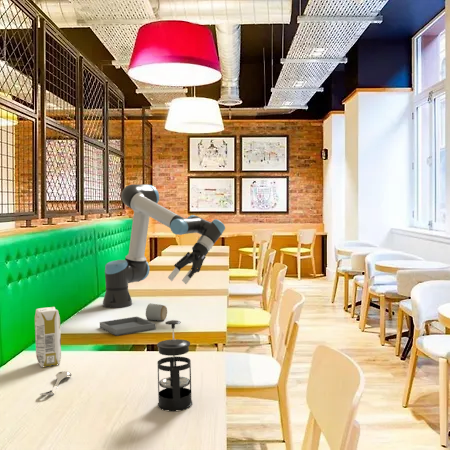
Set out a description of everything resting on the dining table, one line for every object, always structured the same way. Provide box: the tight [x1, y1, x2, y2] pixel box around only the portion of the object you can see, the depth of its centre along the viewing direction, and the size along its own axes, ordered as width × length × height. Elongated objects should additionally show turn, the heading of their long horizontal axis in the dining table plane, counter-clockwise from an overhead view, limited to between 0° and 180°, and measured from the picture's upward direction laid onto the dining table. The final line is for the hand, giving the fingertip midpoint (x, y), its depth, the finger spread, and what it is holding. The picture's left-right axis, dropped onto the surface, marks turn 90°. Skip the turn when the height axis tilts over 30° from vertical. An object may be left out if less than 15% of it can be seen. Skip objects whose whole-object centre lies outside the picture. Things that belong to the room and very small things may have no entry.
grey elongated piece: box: [39, 370, 72, 396], centre depth 164 cm, size 20×4×5 cm
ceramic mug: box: [145, 303, 168, 322], centre depth 254 cm, size 11×8×8 cm
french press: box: [156, 319, 193, 412], centre depth 148 cm, size 12×9×23 cm
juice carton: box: [34, 306, 62, 368], centre depth 188 cm, size 8×9×19 cm
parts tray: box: [99, 316, 157, 337], centre depth 237 cm, size 18×18×2 cm
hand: (176, 280), depth 258 cm, fingers open, 13 cm apart
